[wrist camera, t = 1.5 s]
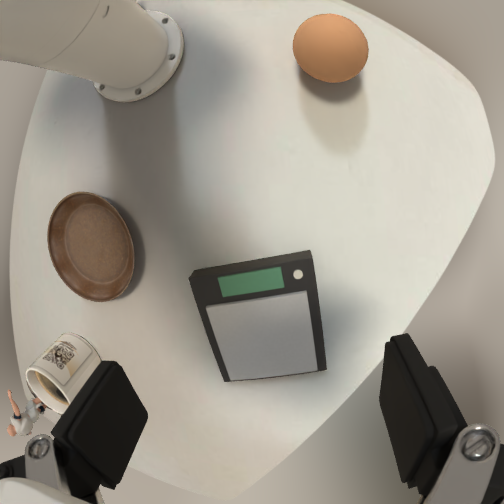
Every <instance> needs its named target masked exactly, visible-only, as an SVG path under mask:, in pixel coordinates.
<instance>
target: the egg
mask: <svg viewBox="0 0 504 504" xmlns="http://www.w3.org/2000/svg"><path fill="white" fill-rule="evenodd" d="M368 50H369V49H368V43H367V40H366V38H365V36H364V34H363V32H362V31H361V29H360V28H359V27H358V26H357V25H356V24H355V23H354V22H352V21H351V20H349V19H347V18H346V17H343V16H340V15H336V14H321V15H316V16H313V17H311V18H309V19H307V20H306V21H305V22H303V23H302V24H301V25H300V26H299V28H298V29H297V31H296V33H295V35H294V40H293V52H294V56H295V58H296V60H297V63H298V64H299V65H300V67H301V68H302V69H303V70H304V71H305V72H306V73H307V74H309V75H310V76H312V77H313V78H316V79H318V80H321V81H324V82H331V83H336V82H343V81H347V80H349V79H351V78H353V77H354V76H356V75H357V74H358V73H359V72H360V71H361V70H362V69H363V67H364V66H365V64H366V61H367V58H368Z"/></svg>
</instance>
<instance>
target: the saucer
mask: <svg viewBox="0 0 504 504" xmlns="http://www.w3.org/2000/svg"><path fill="white" fill-rule="evenodd" d="M47 239H48V248H49V253H50V257H51V260H52V263H53V265H54V267H55V269H56V271H57V273H58V275H59V276H60V278H61V279H62V280H63V282H64V283H65V284H66V285H67V286H68V287H69V288H70V289H71V290H72V291H73V292H75V293H76V294H78V295H79V296H81V297H83V298H85V299H87V300H91V301H95V302H106V301H110V300H113V299H115V298H117V297H118V296H119V295H121V294H122V293H123V292H124V291H125V289H126V288H127V286H128V285H129V283H130V281H131V278H132V275H133V270H134V264H135V254H134V246H133V242H132V238H131V235H130V232H129V230H128V227H127V225H126V223H125V221H124V220H123V218H122V217H121V215H120V214H119V212H118V211H117V210H116V209H115V208H114V207H113V206H112V205H111V204H110V203H109V202H108V201H106V200H105V199H104V198H102V197H100V196H98V195H96V194H93V193H89V192H76V193H72V194H70V195H68V196H66V197H65V198H63V199H62V200H61V201H60V202H59V203H58V204H57V206H56V207H55V209H54V211H53V213H52V215H51V217H50V221H49V225H48V236H47Z"/></svg>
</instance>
